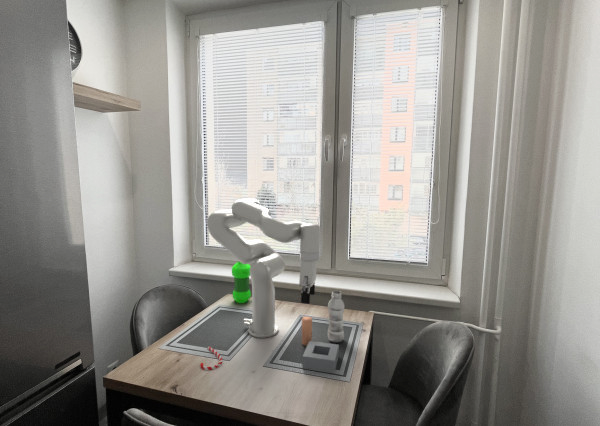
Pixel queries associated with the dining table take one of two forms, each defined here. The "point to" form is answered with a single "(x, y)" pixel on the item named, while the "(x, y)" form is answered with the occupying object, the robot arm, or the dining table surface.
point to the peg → (306, 330)
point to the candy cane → (214, 365)
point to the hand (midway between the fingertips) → (308, 298)
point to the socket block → (320, 357)
